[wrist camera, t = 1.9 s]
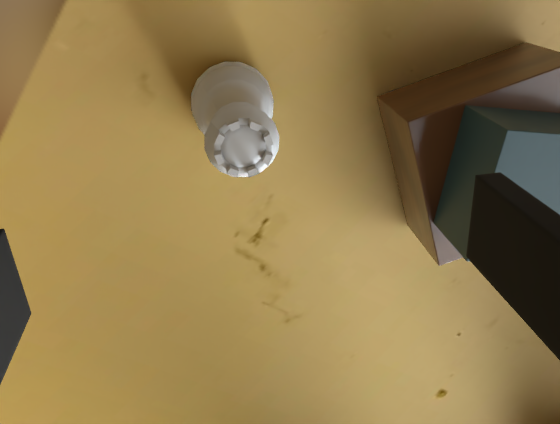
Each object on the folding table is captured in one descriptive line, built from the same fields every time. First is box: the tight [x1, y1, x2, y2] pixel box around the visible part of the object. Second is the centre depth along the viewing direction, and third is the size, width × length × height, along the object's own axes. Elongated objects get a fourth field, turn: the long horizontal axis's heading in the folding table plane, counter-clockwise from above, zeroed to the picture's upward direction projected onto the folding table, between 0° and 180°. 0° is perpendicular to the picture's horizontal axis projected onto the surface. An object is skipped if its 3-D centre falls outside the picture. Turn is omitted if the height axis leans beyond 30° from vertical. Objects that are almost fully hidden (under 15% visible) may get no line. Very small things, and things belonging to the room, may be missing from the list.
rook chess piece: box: [191, 62, 279, 177], centre depth 26 cm, size 4×4×8 cm
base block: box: [377, 43, 560, 266], centre depth 30 cm, size 9×9×5 cm
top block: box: [434, 105, 560, 261], centre depth 26 cm, size 6×6×4 cm
